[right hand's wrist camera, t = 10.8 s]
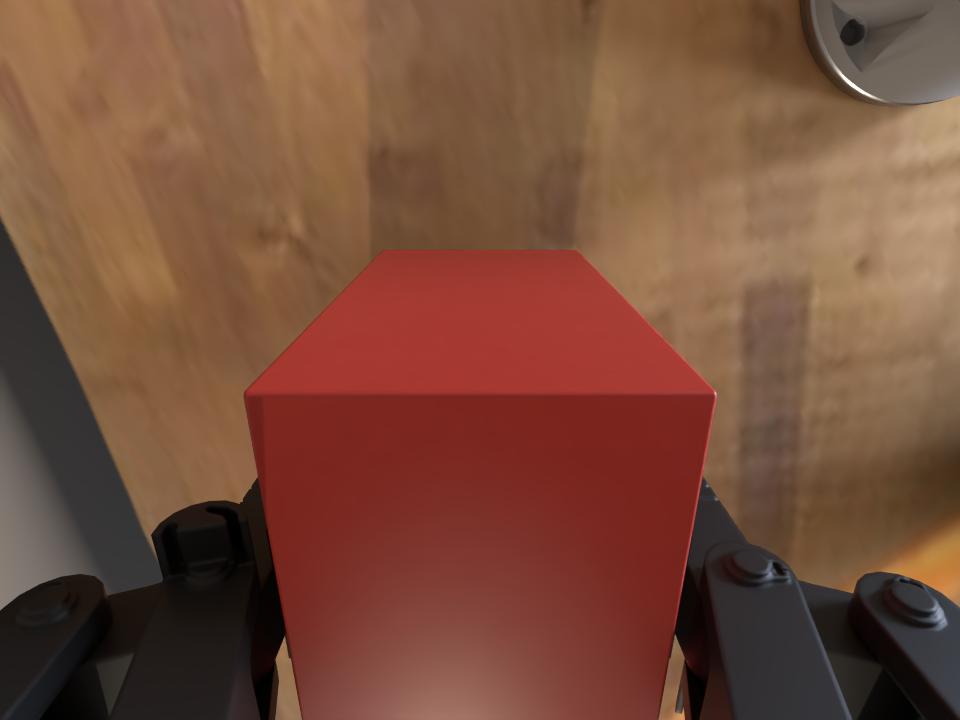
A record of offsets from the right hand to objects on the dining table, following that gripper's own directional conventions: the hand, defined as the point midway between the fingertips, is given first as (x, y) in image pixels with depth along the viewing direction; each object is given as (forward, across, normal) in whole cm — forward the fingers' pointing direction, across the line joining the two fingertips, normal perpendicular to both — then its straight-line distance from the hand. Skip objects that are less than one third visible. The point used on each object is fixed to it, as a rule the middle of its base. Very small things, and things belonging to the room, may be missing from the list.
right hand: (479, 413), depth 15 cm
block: (+1, 0, 0) cm, 1 cm away
